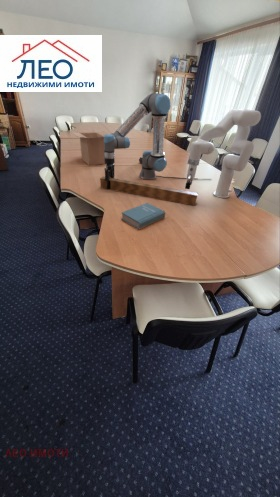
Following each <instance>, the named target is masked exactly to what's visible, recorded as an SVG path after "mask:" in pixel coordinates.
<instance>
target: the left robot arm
mask: <svg viewBox="0 0 280 497" xmlns="http://www.w3.org/2000/svg"><path fill="white" fill-rule="evenodd" d="M171 106H172V103H171V99H170V97H169V96H168V95H167V94H164V93H159V92H158V93H157V92H152V93H150V94H148V95H147V96H146V97H144V99H143V100H142V101H140V102H139V103H138V106H137V108H136V109H135V110H134V111H133V112H132V113H131V114H130V115H129V116H128V117H127V118H126V119H125V121H124V122H123V123H122V124H121V125H120V126H119V127H118V128H117V129H116V130H115V131H114V132H111V133H107V134H106V135H104V157H105V158H104V159H105V163H106V164H105V165H106V166H105V167H104V177H105V181H107V189H106V190H109V189H110V178H115V167H116V166H115V163H116V162H115V156H116V154H115V153H116V152H115V150H121V149H124V150H125V149H129V148H130V146H131V140H130V138H129V137H128V136H127V135H128V134H129V133H130V132H131V131H132V130H133V129H134V128H135V127H136V126H137V125H138V123H140V121H141V120H142V119H143V118H144V117H145V116H148V115H149V114H150V113H151V117H152V119H153V120H152V122H153V124H152V126H153V127H152V150H144V151H143V152H142V157H143V158H142V157H141V158H142V163H141V169H140V172H139V178H140V179H142V180H146V181H154V180H156V178H162V179H181V180H187V177H175V176H163V175H162V176H161V175H157V174H156V172H159V173H161V172H163V170H165V169H166V168H167V164H168V160H167V159H166V158H165V152H164V144H165V143H164V140H165V123H166V118H167V117H168V113H169V111H170V110H171ZM194 180H197V178H194Z"/></svg>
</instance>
